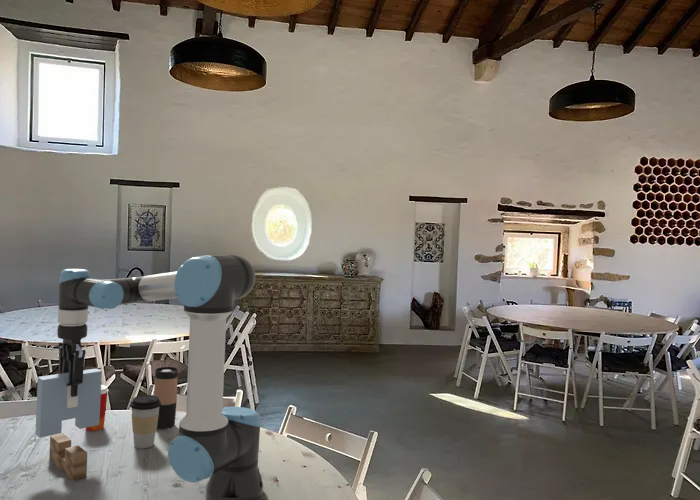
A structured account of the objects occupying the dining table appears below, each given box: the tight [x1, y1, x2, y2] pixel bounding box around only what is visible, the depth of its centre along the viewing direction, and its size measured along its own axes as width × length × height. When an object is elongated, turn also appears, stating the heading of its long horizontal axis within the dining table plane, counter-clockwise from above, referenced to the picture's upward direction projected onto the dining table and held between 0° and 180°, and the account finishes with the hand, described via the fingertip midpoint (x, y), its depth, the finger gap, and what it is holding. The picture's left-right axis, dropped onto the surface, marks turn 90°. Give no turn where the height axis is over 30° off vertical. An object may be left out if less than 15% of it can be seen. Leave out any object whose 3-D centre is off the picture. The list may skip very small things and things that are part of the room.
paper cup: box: [85, 384, 109, 432], centre depth 187 cm, size 8×8×14 cm
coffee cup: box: [129, 394, 161, 450], centre depth 176 cm, size 9×9×15 cm
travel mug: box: [153, 366, 179, 430], centre depth 193 cm, size 8×8×20 cm
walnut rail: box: [48, 432, 88, 482], centre depth 157 cm, size 18×4×7 cm, turn 47°
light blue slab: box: [35, 367, 103, 438], centre depth 157 cm, size 4×16×16 cm, turn 137°
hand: (69, 404), depth 157 cm, fingers closed on light blue slab, 3 cm apart
